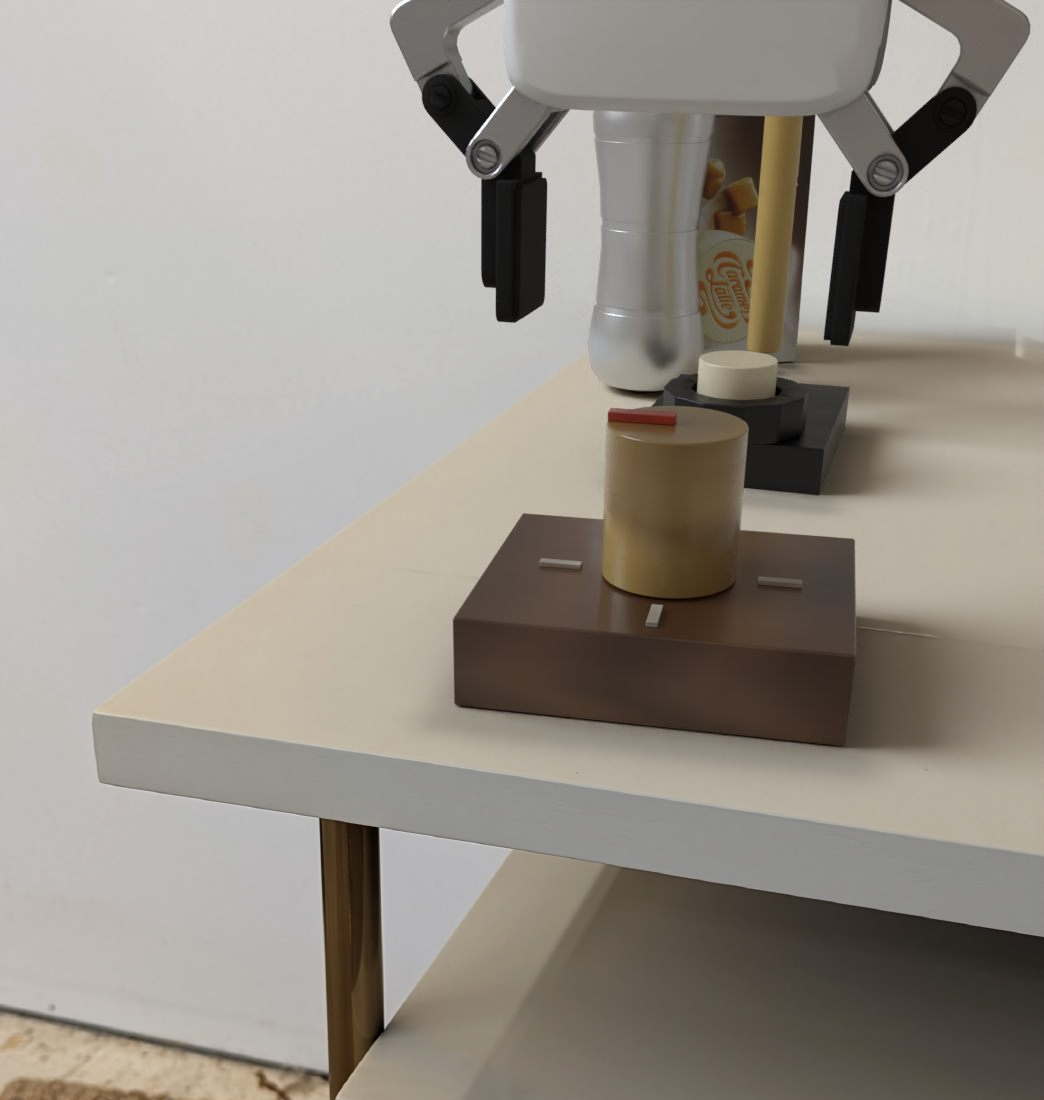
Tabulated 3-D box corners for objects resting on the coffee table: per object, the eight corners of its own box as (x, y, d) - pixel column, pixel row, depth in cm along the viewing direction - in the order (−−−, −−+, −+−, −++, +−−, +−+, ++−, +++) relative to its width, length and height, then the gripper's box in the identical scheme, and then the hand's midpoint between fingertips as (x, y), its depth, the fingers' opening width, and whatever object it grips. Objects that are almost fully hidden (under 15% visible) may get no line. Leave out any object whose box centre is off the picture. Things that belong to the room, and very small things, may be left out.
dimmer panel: (845, 616, 48) (855, 533, 47) (844, 747, 39) (857, 650, 38) (522, 587, 50) (522, 508, 49) (453, 705, 42) (451, 613, 40)
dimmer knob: (740, 555, 45) (754, 400, 43) (730, 605, 41) (744, 437, 39) (612, 545, 46) (618, 392, 44) (590, 592, 42) (596, 428, 40)
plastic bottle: (688, 407, 74) (712, 2, 65) (571, 397, 76) (580, 2, 67) (711, 381, 79) (737, 4, 70) (602, 372, 81) (613, 4, 72)
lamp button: (704, 384, 64) (707, 347, 63) (779, 390, 63) (783, 353, 62) (689, 402, 61) (692, 364, 60) (768, 409, 60) (772, 370, 59)
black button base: (678, 413, 73) (682, 339, 71) (845, 428, 71) (853, 352, 69) (622, 481, 62) (625, 396, 60) (817, 501, 60) (826, 413, 58)
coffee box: (765, 342, 89) (787, 78, 82) (797, 364, 84) (825, 83, 76) (631, 346, 88) (642, 79, 81) (655, 368, 82) (669, 83, 75)
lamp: (717, 329, 74) (747, -102, 64) (834, 337, 72) (883, -104, 63) (694, 354, 68) (724, -113, 59) (821, 363, 66) (872, -116, 57)
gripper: (1087, -373, 33) (974, 322, 41) (435, -339, 38) (442, 287, 45) (1122, -473, 27) (980, 375, 35) (329, -418, 31) (358, 329, 39)
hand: (675, 325), depth 40 cm, fingers open, 9 cm apart
